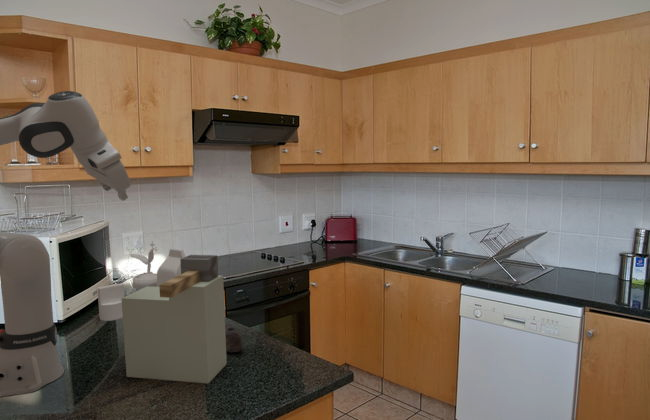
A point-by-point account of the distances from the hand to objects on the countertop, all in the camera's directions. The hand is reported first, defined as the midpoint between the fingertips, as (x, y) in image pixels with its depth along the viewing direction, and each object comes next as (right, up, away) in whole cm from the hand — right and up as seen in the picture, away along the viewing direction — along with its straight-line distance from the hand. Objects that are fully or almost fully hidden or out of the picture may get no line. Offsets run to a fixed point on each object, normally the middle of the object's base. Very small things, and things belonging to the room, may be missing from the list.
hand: (116, 194), depth 130 cm
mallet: (+22, -24, -8) cm, 34 cm away
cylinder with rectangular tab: (-23, -45, +48) cm, 70 cm away
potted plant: (-18, -43, +71) cm, 85 cm away
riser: (+17, -49, +1) cm, 52 cm away
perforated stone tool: (+28, -48, +17) cm, 58 cm away
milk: (+4, -45, +45) cm, 64 cm away
